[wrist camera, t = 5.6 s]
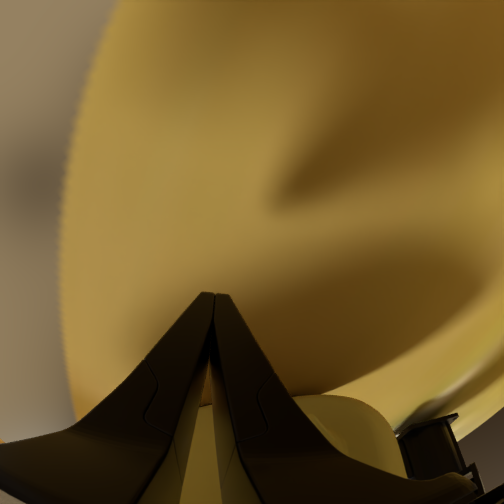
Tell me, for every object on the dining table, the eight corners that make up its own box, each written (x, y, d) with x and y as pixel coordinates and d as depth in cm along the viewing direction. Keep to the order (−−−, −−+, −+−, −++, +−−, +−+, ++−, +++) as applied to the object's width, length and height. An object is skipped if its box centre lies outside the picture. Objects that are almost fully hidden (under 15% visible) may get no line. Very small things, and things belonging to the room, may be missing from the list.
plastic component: (133, 436, 20) (118, 537, 12) (67, 390, 17) (32, 506, 8) (374, 375, 16) (418, 518, 8) (347, 297, 13) (425, 516, 4)
